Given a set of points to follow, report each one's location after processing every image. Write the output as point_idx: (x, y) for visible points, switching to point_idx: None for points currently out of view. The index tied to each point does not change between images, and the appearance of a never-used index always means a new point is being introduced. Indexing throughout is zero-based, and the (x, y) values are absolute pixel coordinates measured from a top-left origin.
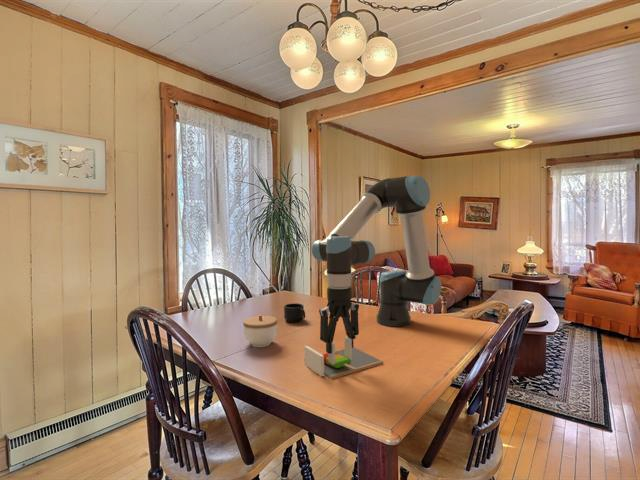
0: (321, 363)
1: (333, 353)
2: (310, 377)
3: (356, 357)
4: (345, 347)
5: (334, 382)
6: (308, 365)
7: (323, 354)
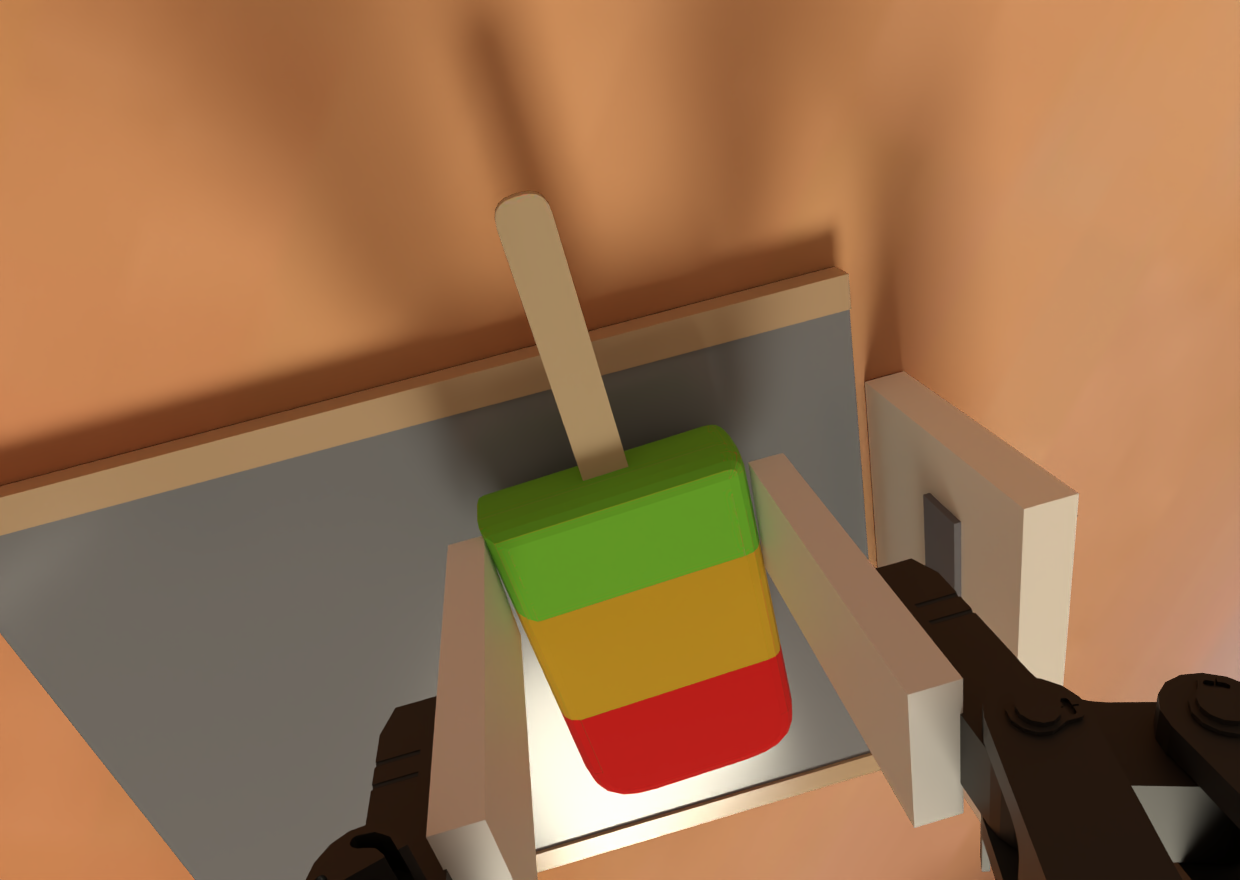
0: (995, 443)
1: (846, 548)
2: (1017, 384)
3: (301, 705)
4: (522, 743)
5: (842, 155)
6: None
7: (753, 752)
